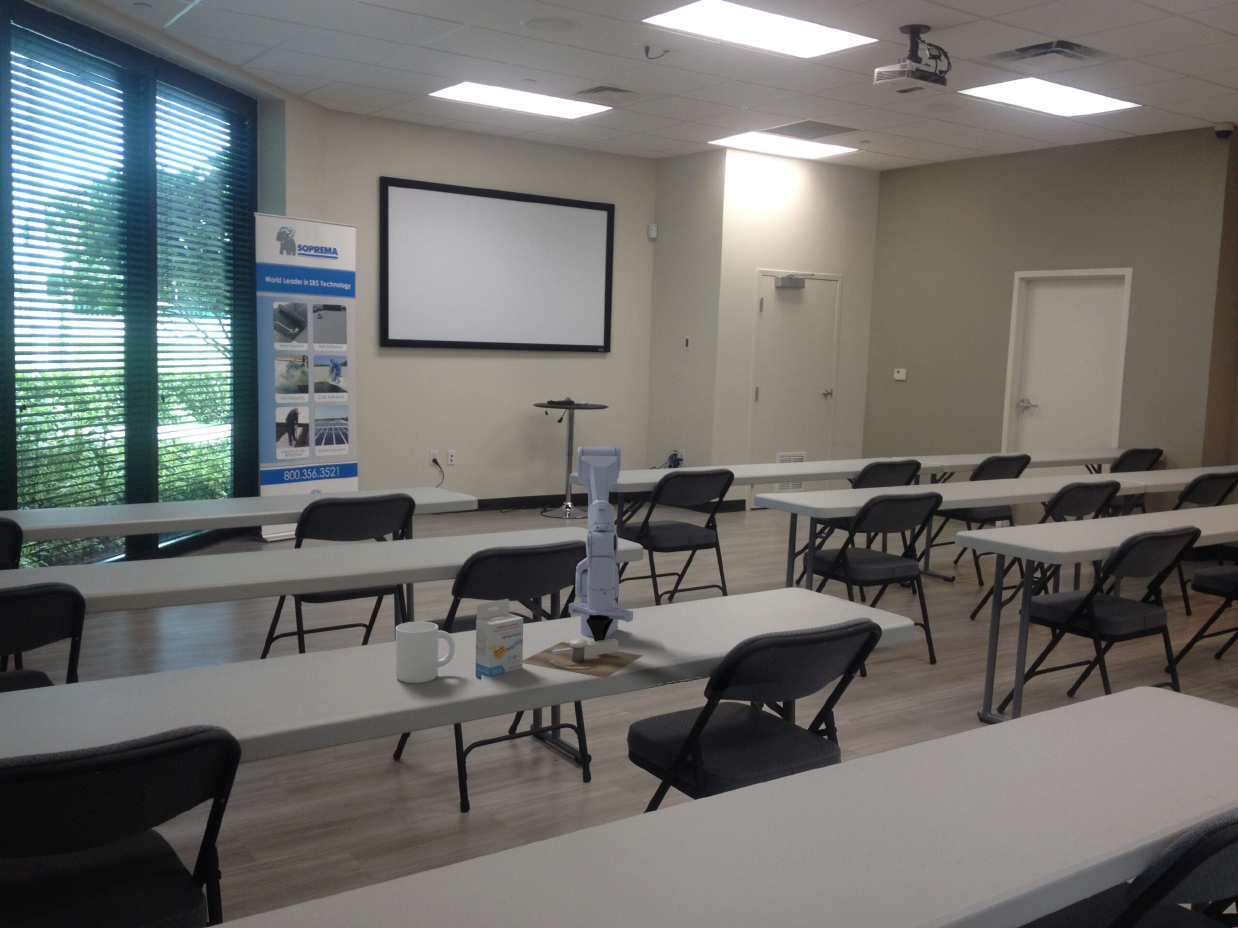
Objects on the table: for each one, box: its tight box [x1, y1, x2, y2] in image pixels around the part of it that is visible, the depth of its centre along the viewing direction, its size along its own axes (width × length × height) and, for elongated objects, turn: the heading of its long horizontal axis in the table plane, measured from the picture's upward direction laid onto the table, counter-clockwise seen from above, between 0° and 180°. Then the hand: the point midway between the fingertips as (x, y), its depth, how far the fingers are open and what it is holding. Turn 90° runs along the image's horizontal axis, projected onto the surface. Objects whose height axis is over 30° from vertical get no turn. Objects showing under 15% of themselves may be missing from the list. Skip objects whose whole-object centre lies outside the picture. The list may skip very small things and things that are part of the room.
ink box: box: [475, 598, 524, 679], centre depth 198 cm, size 8×5×15 cm, turn 135°
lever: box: [552, 638, 619, 662], centre depth 206 cm, size 15×4×4 cm, turn 120°
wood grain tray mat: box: [522, 641, 644, 679], centre depth 207 cm, size 18×20×1 cm
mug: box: [395, 621, 456, 684], centre depth 197 cm, size 12×8×10 cm
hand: (599, 649), depth 211 cm, fingers closed
